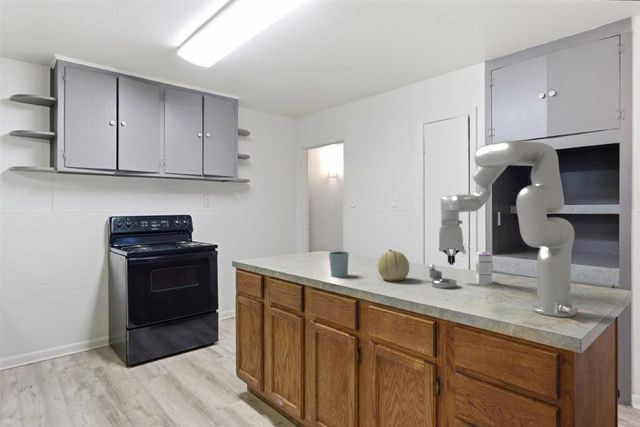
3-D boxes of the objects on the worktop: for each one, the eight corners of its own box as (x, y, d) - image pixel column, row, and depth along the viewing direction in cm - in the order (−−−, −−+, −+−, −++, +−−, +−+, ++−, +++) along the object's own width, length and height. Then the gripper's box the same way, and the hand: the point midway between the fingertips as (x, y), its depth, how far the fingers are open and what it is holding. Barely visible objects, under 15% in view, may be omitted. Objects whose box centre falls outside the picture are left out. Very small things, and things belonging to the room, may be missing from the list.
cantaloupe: (395, 286, 166) (395, 253, 166) (371, 281, 178) (371, 250, 177) (416, 282, 176) (416, 250, 175) (391, 277, 187) (391, 247, 187)
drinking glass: (352, 276, 190) (351, 253, 190) (333, 278, 187) (333, 254, 186) (343, 273, 200) (343, 250, 199) (326, 275, 196) (325, 252, 196)
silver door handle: (461, 288, 158) (461, 269, 158) (439, 289, 156) (439, 270, 156) (440, 280, 174) (440, 263, 174) (420, 281, 172) (420, 264, 172)
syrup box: (492, 286, 166) (492, 253, 165) (478, 285, 167) (478, 253, 166) (489, 283, 171) (489, 251, 171) (475, 283, 172) (475, 251, 172)
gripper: (468, 223, 170) (469, 263, 170) (433, 223, 175) (434, 263, 175) (468, 223, 163) (469, 265, 163) (432, 224, 168) (433, 265, 168)
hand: (451, 264), depth 169 cm, fingers closed
